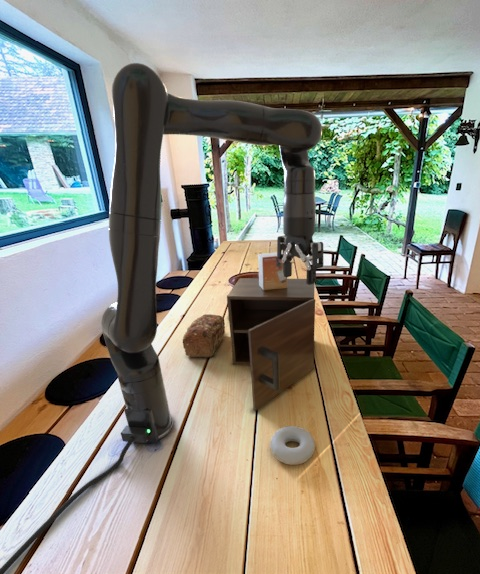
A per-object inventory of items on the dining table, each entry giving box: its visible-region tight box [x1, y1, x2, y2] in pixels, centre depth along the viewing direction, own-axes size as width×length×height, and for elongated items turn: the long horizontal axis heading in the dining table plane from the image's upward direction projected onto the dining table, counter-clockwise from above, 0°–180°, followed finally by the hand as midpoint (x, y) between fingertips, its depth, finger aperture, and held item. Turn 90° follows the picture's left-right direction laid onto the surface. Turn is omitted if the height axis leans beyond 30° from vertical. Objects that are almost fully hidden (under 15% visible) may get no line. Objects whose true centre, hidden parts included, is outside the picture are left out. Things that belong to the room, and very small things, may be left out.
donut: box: [269, 425, 316, 466], centre depth 72 cm, size 10×3×10 cm
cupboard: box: [226, 277, 316, 366], centre depth 108 cm, size 18×26×24 cm
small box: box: [257, 251, 288, 290], centre depth 100 cm, size 8×6×10 cm
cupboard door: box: [248, 298, 316, 412], centre depth 87 cm, size 7×26×24 cm, turn 137°
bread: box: [182, 313, 226, 359], centre depth 117 cm, size 19×11×10 cm, turn 172°
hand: (298, 280), depth 82 cm, fingers open, 8 cm apart
